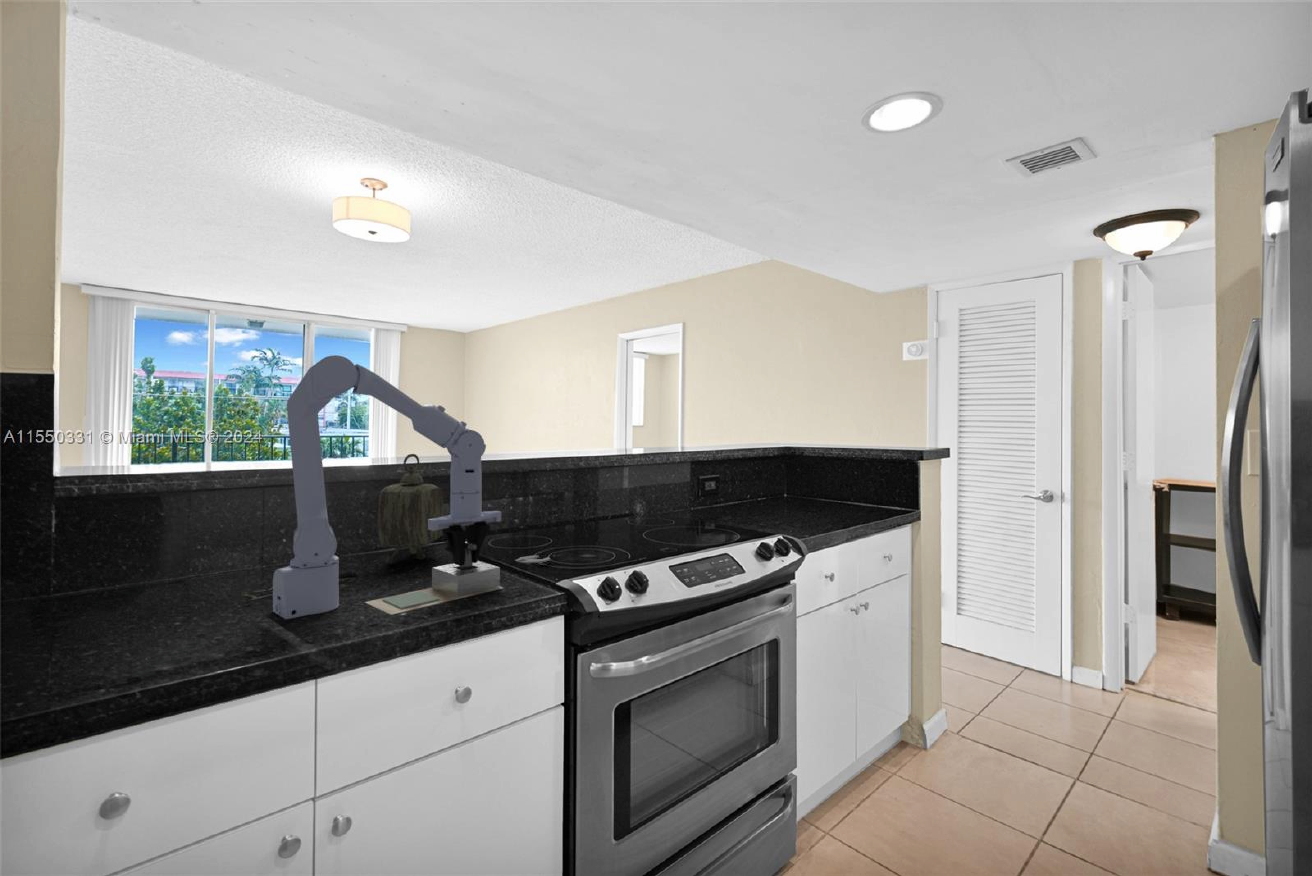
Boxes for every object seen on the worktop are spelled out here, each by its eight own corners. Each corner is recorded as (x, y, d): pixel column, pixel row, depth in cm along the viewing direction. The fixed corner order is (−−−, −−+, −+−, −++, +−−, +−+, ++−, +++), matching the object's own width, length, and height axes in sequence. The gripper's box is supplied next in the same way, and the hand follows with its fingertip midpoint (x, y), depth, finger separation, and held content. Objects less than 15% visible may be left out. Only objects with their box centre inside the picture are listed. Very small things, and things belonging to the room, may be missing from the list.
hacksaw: (356, 575, 133) (355, 568, 133) (375, 584, 126) (375, 577, 126) (221, 598, 115) (221, 590, 115) (235, 610, 108) (235, 602, 108)
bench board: (391, 621, 102) (391, 614, 102) (364, 608, 109) (364, 602, 109) (503, 594, 119) (503, 587, 119) (474, 584, 125) (474, 578, 125)
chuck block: (457, 597, 112) (457, 576, 112) (432, 588, 118) (432, 567, 118) (499, 587, 119) (499, 567, 119) (473, 579, 125) (473, 559, 125)
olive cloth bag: (410, 552, 154) (410, 452, 153) (445, 553, 153) (445, 452, 152) (378, 566, 139) (377, 455, 138) (416, 567, 138) (416, 456, 138)
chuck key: (469, 584, 115) (469, 545, 115) (453, 579, 119) (453, 541, 119) (480, 582, 117) (480, 543, 117) (464, 576, 121) (464, 539, 121)
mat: (401, 609, 105) (401, 607, 105) (382, 600, 110) (382, 599, 110) (439, 600, 110) (439, 598, 110) (419, 592, 115) (419, 591, 115)
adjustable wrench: (442, 582, 128) (442, 574, 128) (433, 576, 134) (433, 568, 134) (552, 566, 143) (552, 558, 143) (541, 560, 148) (541, 553, 148)
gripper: (442, 497, 110) (442, 573, 110) (510, 490, 121) (510, 560, 121) (422, 494, 114) (422, 567, 115) (489, 487, 125) (489, 554, 126)
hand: (466, 563), depth 118 cm, fingers closed on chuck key, 2 cm apart
